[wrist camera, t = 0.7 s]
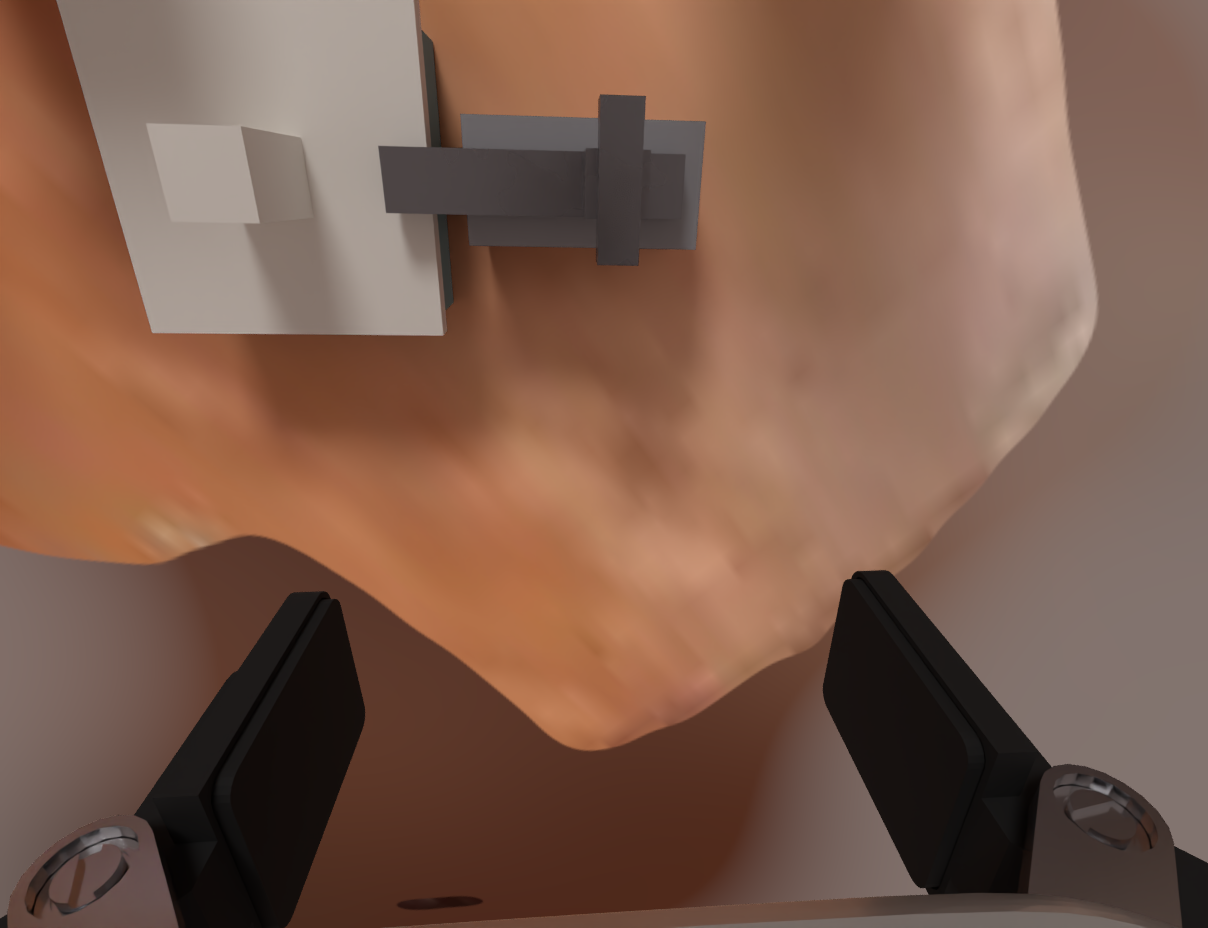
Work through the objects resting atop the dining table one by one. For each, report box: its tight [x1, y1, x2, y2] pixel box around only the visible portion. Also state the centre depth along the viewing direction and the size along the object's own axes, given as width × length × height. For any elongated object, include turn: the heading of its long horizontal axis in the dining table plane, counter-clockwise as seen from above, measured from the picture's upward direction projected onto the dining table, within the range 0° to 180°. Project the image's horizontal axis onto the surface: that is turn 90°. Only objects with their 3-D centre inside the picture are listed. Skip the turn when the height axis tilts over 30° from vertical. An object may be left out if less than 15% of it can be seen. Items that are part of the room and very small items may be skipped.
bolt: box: [378, 95, 686, 266], centre depth 22 cm, size 5×12×6 cm, turn 89°
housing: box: [421, 30, 706, 311], centre depth 28 cm, size 12×24×6 cm, turn 89°
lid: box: [56, 0, 447, 336], centre depth 23 cm, size 13×13×6 cm
